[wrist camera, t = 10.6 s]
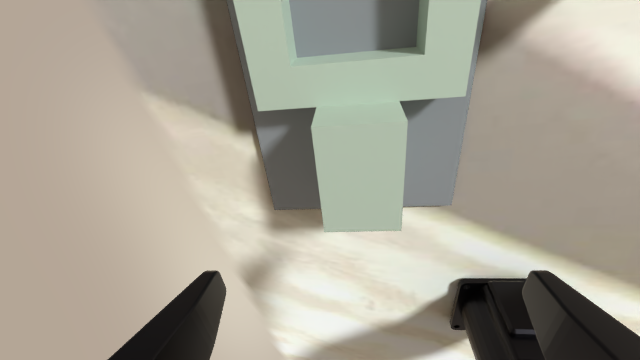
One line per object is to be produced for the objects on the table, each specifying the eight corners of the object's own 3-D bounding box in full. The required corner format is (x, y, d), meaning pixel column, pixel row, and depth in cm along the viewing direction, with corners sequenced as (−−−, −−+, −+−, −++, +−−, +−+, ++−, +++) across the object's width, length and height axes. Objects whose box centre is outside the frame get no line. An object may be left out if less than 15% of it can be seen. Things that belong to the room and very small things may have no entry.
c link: (440, 180, 19) (462, 229, 15) (284, 186, 20) (269, 233, 16) (493, -213, 10) (577, -327, 6) (215, -159, 11) (149, -228, 8)
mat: (449, 200, 20) (451, 205, 20) (276, 205, 22) (274, 209, 21) (534, -309, 9) (543, -323, 9) (178, -229, 11) (171, -238, 10)
